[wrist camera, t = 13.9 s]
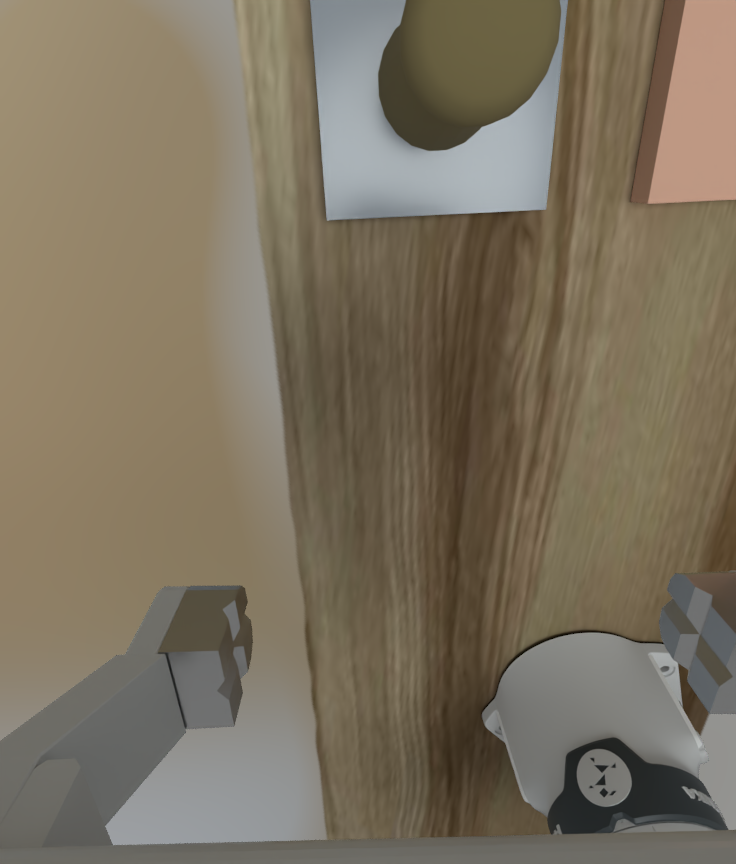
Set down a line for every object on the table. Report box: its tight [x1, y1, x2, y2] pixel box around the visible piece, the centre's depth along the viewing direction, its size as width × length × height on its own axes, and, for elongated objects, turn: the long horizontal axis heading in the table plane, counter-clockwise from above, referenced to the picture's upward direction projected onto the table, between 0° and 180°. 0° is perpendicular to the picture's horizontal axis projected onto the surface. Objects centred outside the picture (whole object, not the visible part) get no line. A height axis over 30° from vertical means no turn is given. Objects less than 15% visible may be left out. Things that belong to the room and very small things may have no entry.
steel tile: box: [310, 0, 568, 220], centre depth 26 cm, size 12×12×2 cm
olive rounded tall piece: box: [378, 0, 561, 151], centre depth 20 cm, size 6×6×11 cm
